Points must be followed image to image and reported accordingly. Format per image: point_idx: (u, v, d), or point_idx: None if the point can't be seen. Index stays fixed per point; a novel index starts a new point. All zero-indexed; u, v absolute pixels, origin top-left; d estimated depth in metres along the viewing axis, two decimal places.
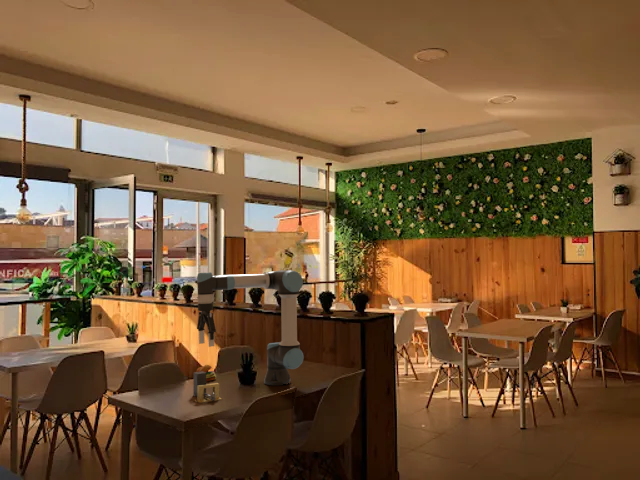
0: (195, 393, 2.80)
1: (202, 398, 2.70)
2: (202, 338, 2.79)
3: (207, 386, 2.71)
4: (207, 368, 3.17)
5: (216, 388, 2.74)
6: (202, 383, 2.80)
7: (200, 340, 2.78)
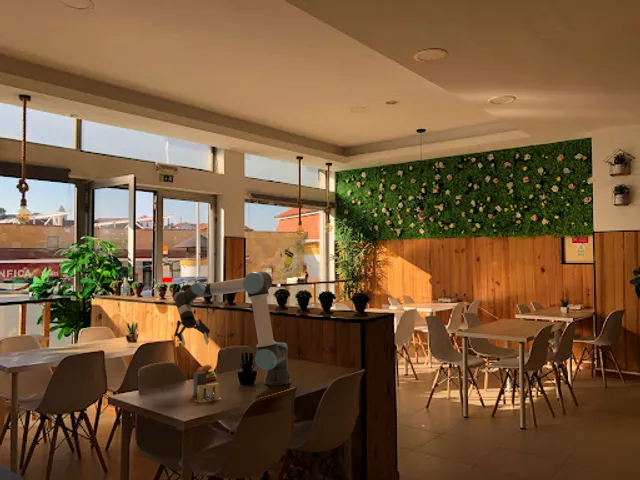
0: (195, 393, 2.80)
1: (202, 398, 2.70)
2: (206, 339, 3.01)
3: (207, 386, 2.71)
4: (207, 368, 3.17)
5: (216, 388, 2.74)
6: (202, 383, 2.80)
7: (205, 341, 3.01)
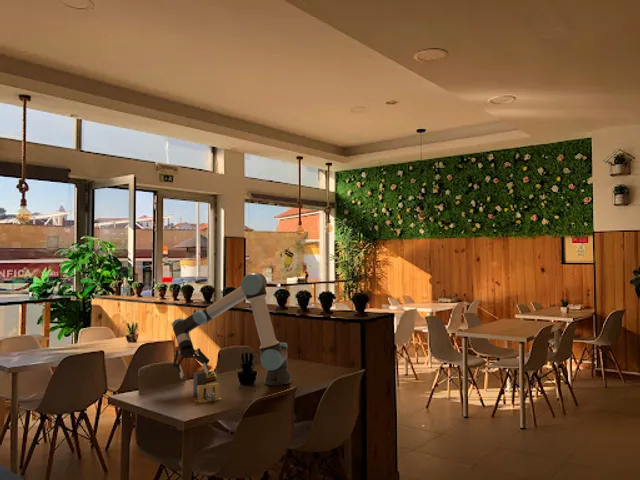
0: (195, 393, 2.80)
1: (202, 398, 2.70)
2: (205, 369, 2.90)
3: (207, 386, 2.71)
4: None
5: (216, 388, 2.74)
6: (202, 383, 2.80)
7: None
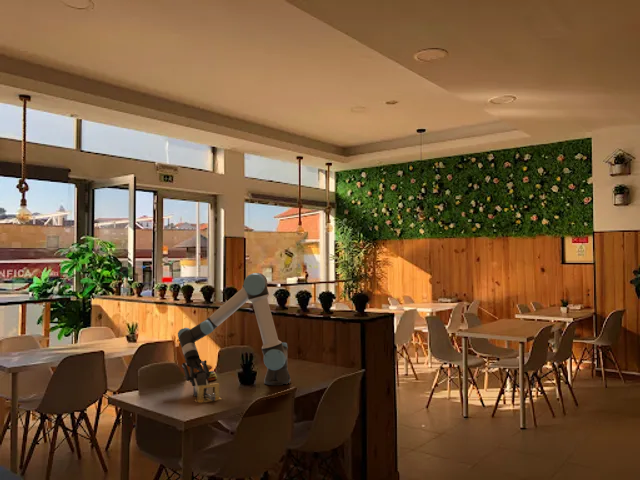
0: (195, 393, 2.80)
1: (202, 398, 2.70)
2: None
3: (207, 386, 2.71)
4: (208, 368, 3.17)
5: (216, 388, 2.74)
6: (202, 383, 2.80)
7: None
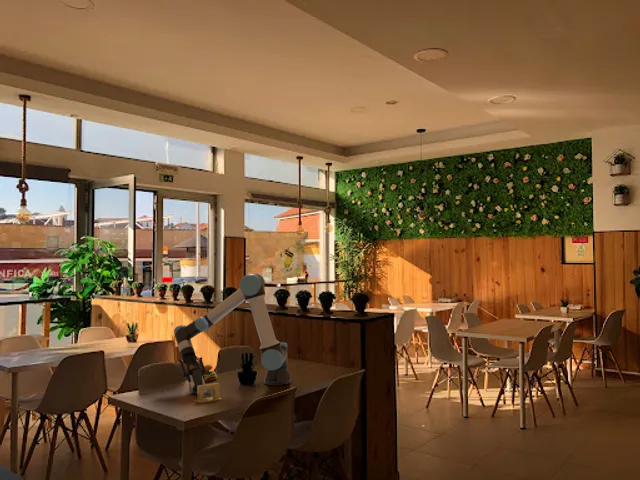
0: (191, 389, 2.84)
1: (202, 398, 2.70)
2: None
3: (207, 386, 2.71)
4: (208, 368, 3.17)
5: (216, 388, 2.74)
6: (198, 379, 2.84)
7: None
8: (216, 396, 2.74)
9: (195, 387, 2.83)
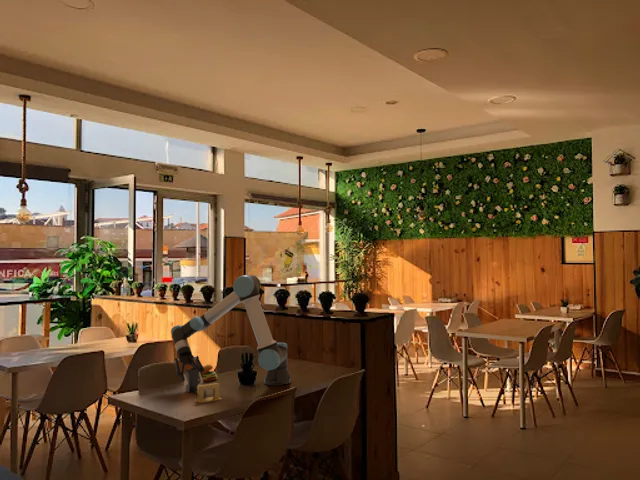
0: (187, 389, 2.89)
1: (202, 398, 2.70)
2: (199, 379, 2.92)
3: (207, 386, 2.71)
4: (208, 368, 3.17)
5: (216, 388, 2.74)
6: (194, 379, 2.89)
7: (199, 381, 2.92)
8: (216, 396, 2.74)
9: (191, 387, 2.88)
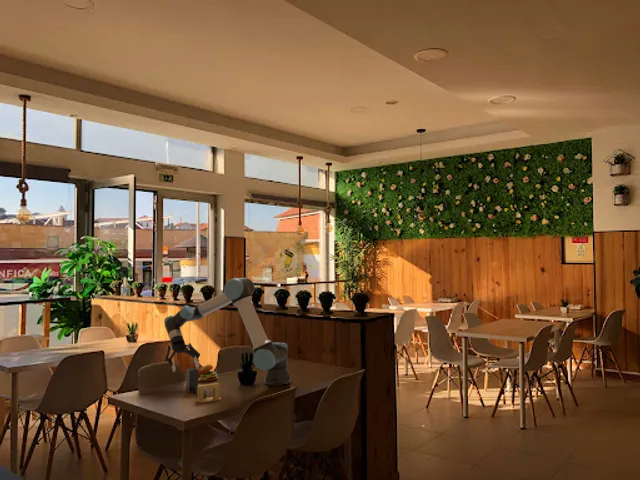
0: (187, 389, 2.89)
1: (202, 398, 2.70)
2: (196, 363, 3.06)
3: (207, 386, 2.71)
4: (208, 368, 3.17)
5: (216, 388, 2.74)
6: (194, 379, 2.89)
7: (196, 365, 3.06)
8: (216, 396, 2.74)
9: (191, 387, 2.88)
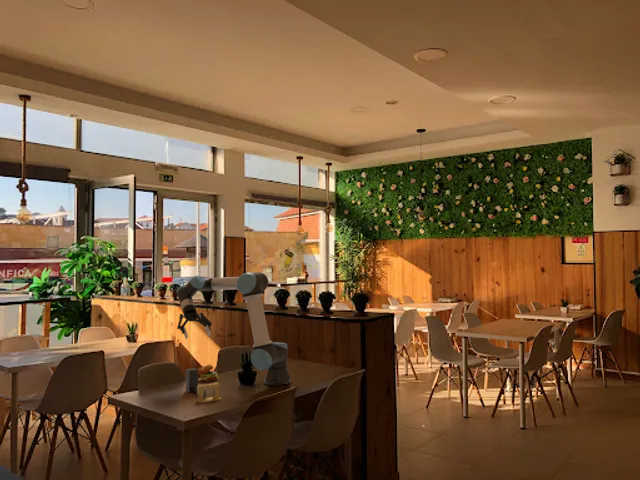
0: (187, 389, 2.89)
1: (202, 398, 2.70)
2: (207, 331, 3.10)
3: (207, 386, 2.71)
4: (209, 368, 3.17)
5: (216, 388, 2.74)
6: (194, 379, 2.89)
7: (207, 334, 3.10)
8: (216, 396, 2.74)
9: (191, 387, 2.88)
